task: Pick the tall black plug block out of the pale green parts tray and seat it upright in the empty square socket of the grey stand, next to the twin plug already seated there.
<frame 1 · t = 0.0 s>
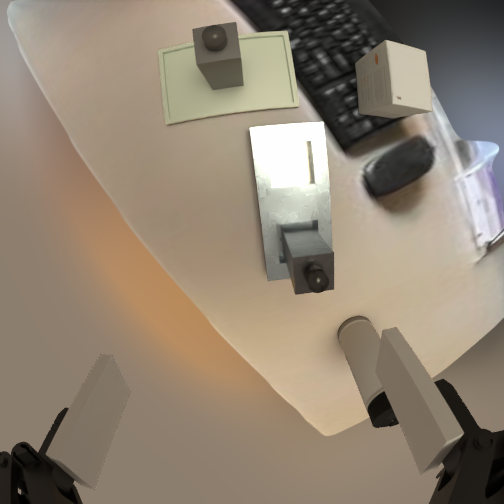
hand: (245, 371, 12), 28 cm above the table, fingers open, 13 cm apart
small box: (373, 90, 32), on the table
tray: (226, 75, 32), on the table
plug: (226, 74, 31), resting on tray
travel mug: (354, 329, 45), on the table
grey stand: (292, 199, 38), on the table
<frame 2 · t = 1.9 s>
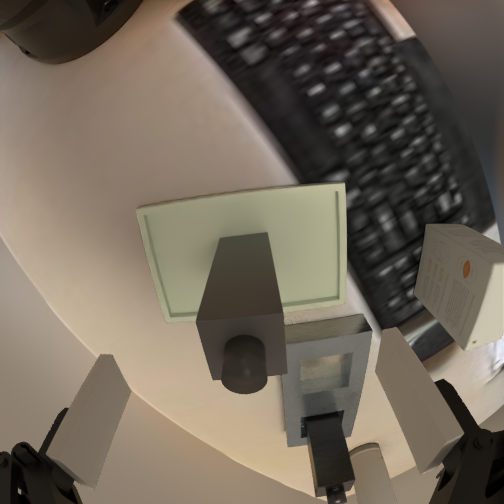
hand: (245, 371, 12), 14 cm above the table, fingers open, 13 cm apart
small box: (437, 257, 26), on the table
tray: (246, 254, 25), on the table
plug: (246, 257, 24), resting on tray
travel mug: (363, 449, 39), on the table
grey stand: (319, 385, 31), on the table
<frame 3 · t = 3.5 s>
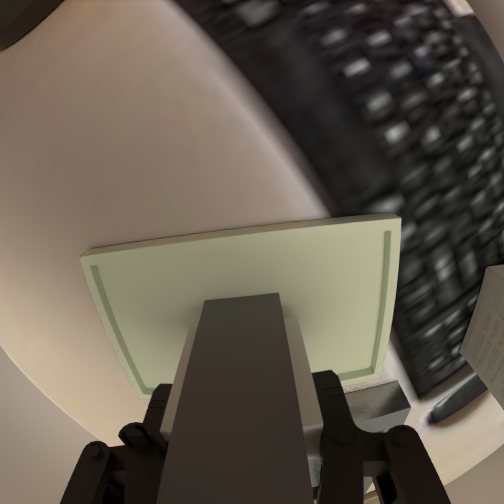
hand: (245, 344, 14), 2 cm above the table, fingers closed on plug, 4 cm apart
small box: (490, 305, 17), on the table
tray: (246, 322, 16), on the table
plug: (246, 326, 16), point 1 cm above the table, touching gripper, tray
travel mug: (374, 493, 30), on the table
grey stand: (334, 451, 22), on the table
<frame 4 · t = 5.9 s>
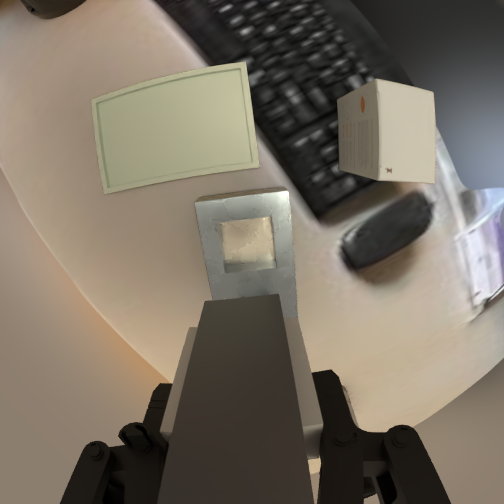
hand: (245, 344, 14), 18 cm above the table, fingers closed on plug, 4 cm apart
small box: (360, 135, 27), on the table
tray: (170, 127, 27), on the table
plug: (246, 327, 16), point 16 cm above the table, touching gripper
travel mug: (328, 394, 41), on the table
grey stand: (253, 278, 33), on the table
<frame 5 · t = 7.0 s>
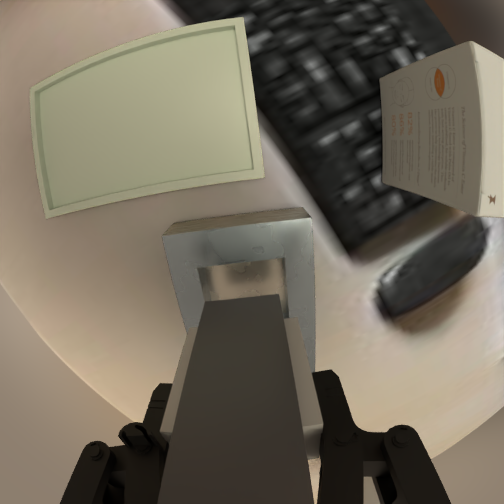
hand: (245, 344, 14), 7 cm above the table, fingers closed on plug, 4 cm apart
small box: (410, 133, 17), on the table
tray: (129, 118, 17), on the table
plug: (246, 328, 16), point 6 cm above the table, touching gripper
travel mug: (341, 446, 31), on the table
grey stand: (254, 333, 23), on the table
when the fingers open (3 cm above the table, at t = 8.1 s): plug stays where it is, resting on grey stand.
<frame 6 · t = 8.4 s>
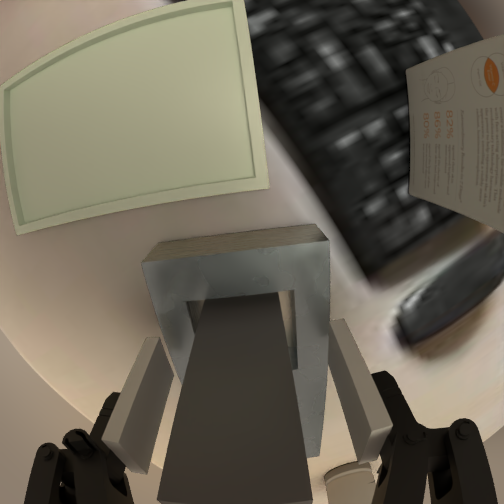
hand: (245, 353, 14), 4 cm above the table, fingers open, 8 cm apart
small box: (439, 135, 14), on the table
tray: (105, 116, 13), on the table
plug: (246, 318, 17), point 1 cm above the table, touching grey stand
travel mug: (347, 469, 27), on the table
grey stand: (255, 367, 19), on the table
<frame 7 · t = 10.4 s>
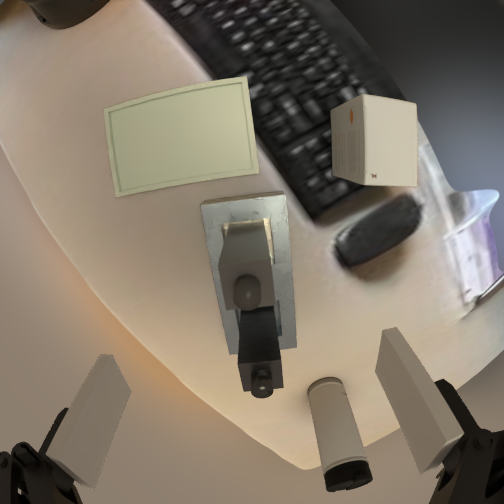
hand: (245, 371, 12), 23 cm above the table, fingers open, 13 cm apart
small box: (352, 143, 30), on the table
tray: (177, 136, 30), on the table
plug: (248, 239, 33), point 1 cm above the table, touching grey stand
travel mug: (325, 387, 43), on the table
grey stand: (253, 274, 36), on the table
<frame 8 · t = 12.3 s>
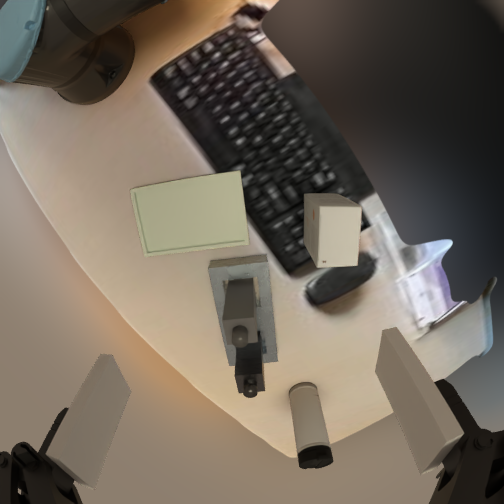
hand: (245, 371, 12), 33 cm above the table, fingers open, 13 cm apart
small box: (320, 217, 44), on the table
tray: (189, 214, 43), on the table
plug: (242, 288, 46), point 1 cm above the table, touching grey stand
travel mug: (303, 390, 57), on the table
grey stand: (246, 310, 49), on the table
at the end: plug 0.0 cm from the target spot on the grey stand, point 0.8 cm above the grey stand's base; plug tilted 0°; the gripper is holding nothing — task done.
